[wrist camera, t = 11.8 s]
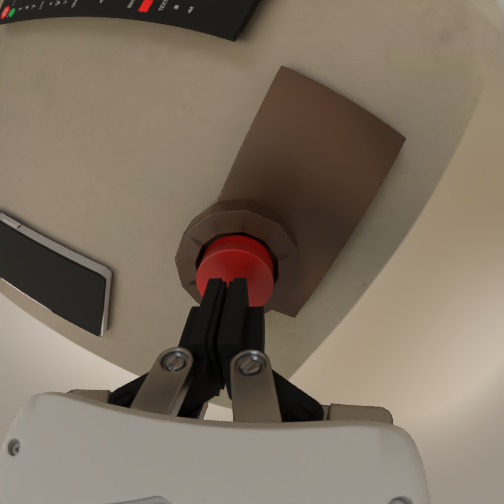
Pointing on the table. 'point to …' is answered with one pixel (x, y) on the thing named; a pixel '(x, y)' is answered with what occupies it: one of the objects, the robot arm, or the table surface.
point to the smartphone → (55, 276)
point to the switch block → (296, 187)
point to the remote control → (143, 12)
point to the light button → (238, 266)
